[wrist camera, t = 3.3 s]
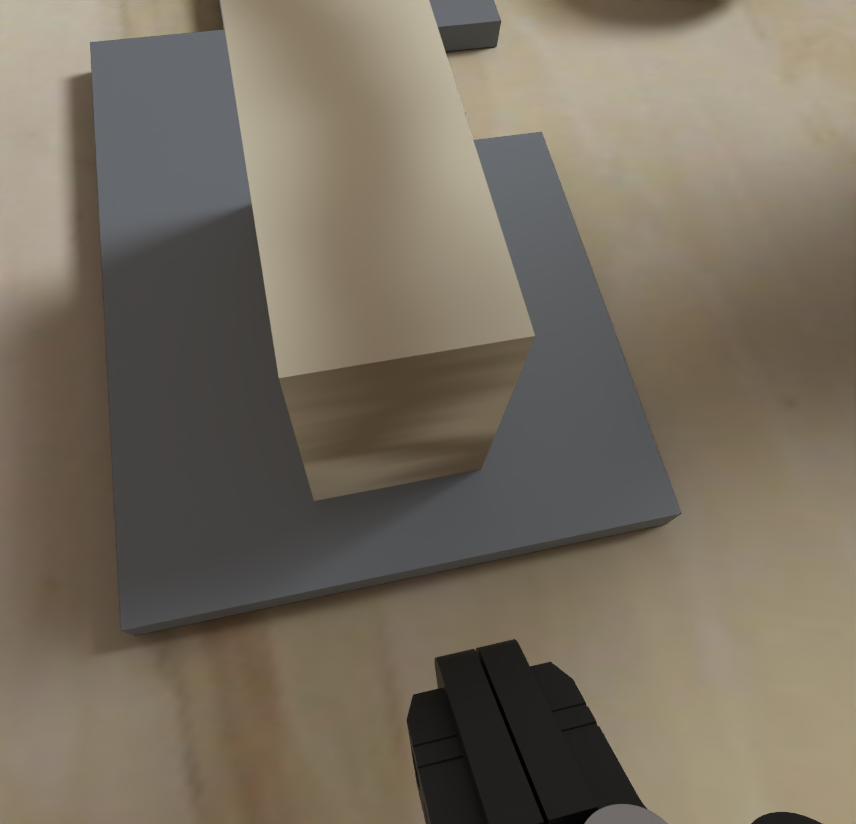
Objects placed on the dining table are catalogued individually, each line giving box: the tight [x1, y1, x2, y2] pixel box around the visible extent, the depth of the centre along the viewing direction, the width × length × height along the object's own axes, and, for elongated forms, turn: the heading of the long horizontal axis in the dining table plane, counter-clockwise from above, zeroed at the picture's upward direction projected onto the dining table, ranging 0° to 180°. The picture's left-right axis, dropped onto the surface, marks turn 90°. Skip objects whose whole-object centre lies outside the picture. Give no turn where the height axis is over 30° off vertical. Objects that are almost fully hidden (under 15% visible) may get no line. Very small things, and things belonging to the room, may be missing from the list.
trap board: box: [90, 0, 681, 636], centre depth 27 cm, size 16×40×3 cm, turn 12°
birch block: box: [220, 0, 535, 501], centre depth 19 cm, size 5×11×8 cm, turn 12°
